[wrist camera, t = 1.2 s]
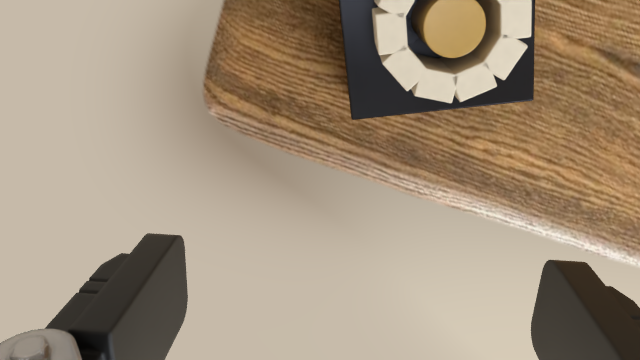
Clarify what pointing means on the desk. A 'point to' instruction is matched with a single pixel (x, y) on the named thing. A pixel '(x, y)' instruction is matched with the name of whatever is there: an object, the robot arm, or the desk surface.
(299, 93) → the desk surface
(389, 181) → the desk surface
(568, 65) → the desk surface
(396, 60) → the ring
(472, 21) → the ring stand
